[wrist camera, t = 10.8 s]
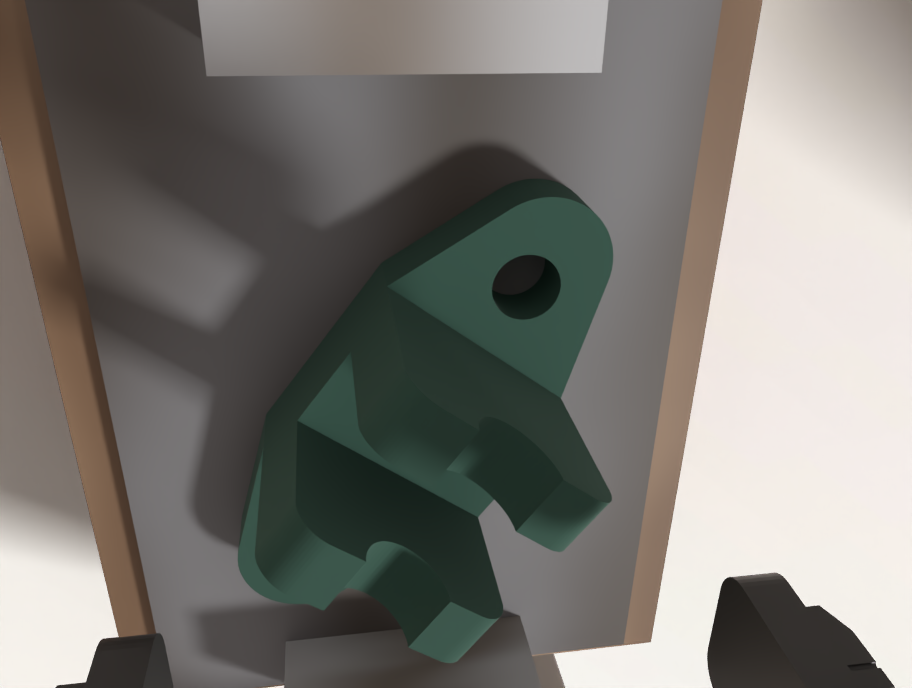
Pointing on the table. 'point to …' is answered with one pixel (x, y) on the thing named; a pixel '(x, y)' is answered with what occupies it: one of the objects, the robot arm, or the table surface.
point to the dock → (355, 278)
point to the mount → (435, 424)
